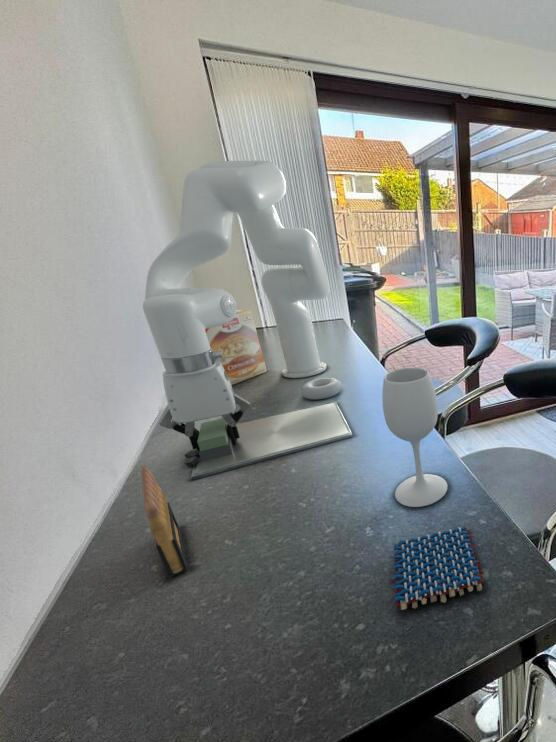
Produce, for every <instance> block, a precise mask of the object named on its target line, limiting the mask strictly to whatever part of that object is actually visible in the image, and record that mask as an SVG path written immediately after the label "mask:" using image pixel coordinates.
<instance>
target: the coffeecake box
mask: <svg viewBox="0 0 556 742" xmlns="http://www.w3.org/2000/svg"><path fill="white" fill-rule="evenodd" d="M205 332H206V335H207V338H208V341H209V344H210V348H212V350H214V351H216V352H219V351H221V352H222V355H223V358H219V359H217V360H216V361H215V362H220V363H221V365H222V366H223V368H224V370H225V372H226V374H227V376H228V378H229V381H230V383H231V386H233V385H236V384H238V383H241V382H243V381H247V380H249V379H252V378H255V377H256V376H258V375H261V374H265V373H267V372H268V370H267V367H266V362H265V358H264V356H263V351H262V347H261V343H260V340H259V336H258V331H257V328H256V324H255V320H254V316H253V312H252V310H243V309H237V312H236V315H235V317H234V318H233V319H232V320H231V321H230V322H229V323H227V324H225V325H221V326H215V327H210V328H206V329H205Z"/></svg>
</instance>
